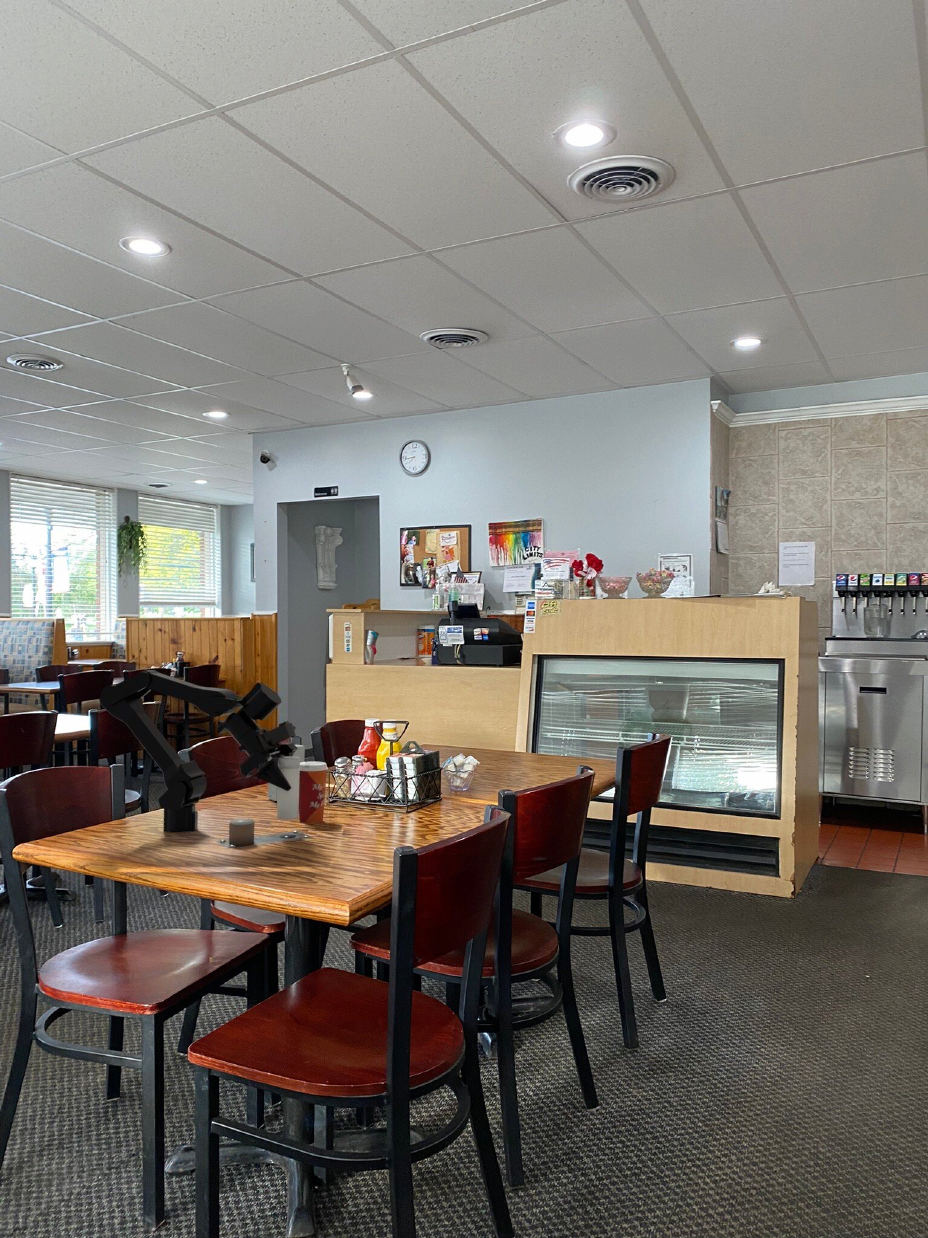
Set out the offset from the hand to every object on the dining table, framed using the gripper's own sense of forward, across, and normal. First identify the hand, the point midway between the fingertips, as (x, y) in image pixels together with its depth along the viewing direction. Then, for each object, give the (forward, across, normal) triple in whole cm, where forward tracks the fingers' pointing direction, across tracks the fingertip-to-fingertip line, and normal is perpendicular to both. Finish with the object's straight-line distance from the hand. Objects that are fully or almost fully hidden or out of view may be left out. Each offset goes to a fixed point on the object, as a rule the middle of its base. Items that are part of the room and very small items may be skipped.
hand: (294, 787), depth 194 cm
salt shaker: (+4, 0, +6) cm, 7 cm away
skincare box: (-7, +46, +24) cm, 52 cm away
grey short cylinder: (+2, -8, +13) cm, 16 cm away
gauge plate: (+5, -4, +12) cm, 13 cm away
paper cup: (+6, +20, +11) cm, 24 cm away
